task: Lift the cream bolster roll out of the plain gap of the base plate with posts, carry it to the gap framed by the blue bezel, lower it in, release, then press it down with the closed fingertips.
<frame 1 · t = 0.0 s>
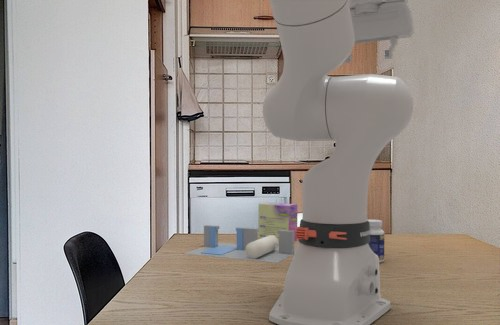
hand: (367, 60, 107), 48 cm above the table, fingers open, 8 cm apart
cream bolster roll: (262, 254, 116), point 1 cm above the table, touching base plate with posts
base plate with posts: (244, 254, 120), on the table
pill bottle: (372, 261, 112), on the table
box: (277, 243, 137), on the table
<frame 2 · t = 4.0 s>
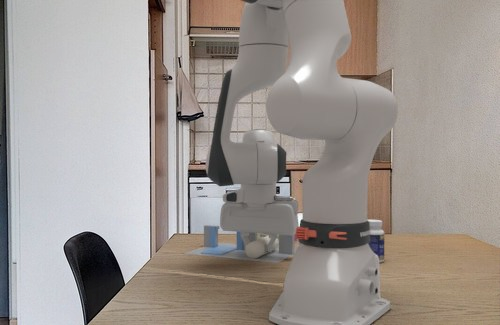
hand: (258, 250, 114), 2 cm above the table, fingers closed on cream bolster roll, 4 cm apart
cream bolster roll: (262, 254, 116), point 1 cm above the table, touching base plate with posts, gripper
everything else where it was.
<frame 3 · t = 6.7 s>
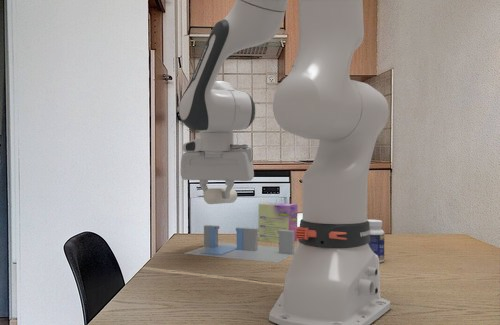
hand: (216, 198, 119), 15 cm above the table, fingers closed on cream bolster roll, 4 cm apart
cream bolster roll: (220, 203, 122), point 13 cm above the table, tilted 8°, touching gripper
everything else where it was.
when the fingers open (3 cm above the table, at t = 9.1 s): cream bolster roll stays where it is, resting on base plate with posts.
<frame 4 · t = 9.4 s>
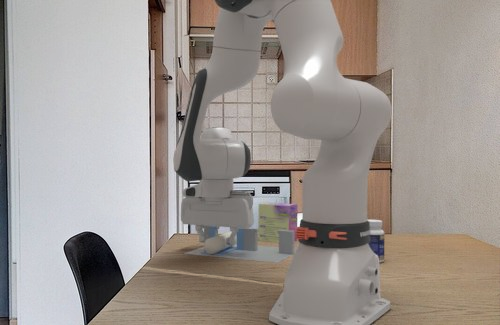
hand: (216, 243, 119), 3 cm above the table, fingers open, 7 cm apart
cream bolster roll: (220, 249, 121), point 1 cm above the table, tilted 12°, touching base plate with posts
everything else where it was.
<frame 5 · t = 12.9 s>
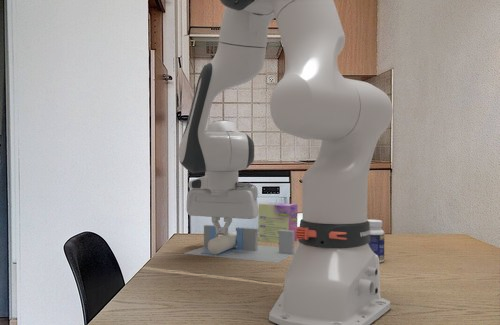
hand: (221, 234, 122), 5 cm above the table, fingers closed
cream bolster roll: (220, 247, 121), point 1 cm above the table, tilted 43°, touching base plate with posts, gripper
everything else where it was.
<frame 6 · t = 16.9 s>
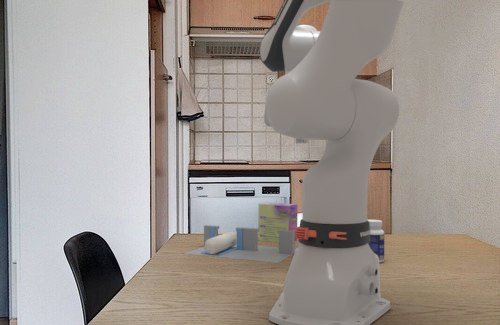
hand: (301, 143, 120), 29 cm above the table, fingers closed
cream bolster roll: (219, 249, 121), point 1 cm above the table, tilted 21°, touching base plate with posts
everything else where it was.
at the end: cream bolster roll 0.4 cm from the target spot on the base plate with posts, point 1.1 cm above the base plate with posts's base; the gripper is holding nothing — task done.
